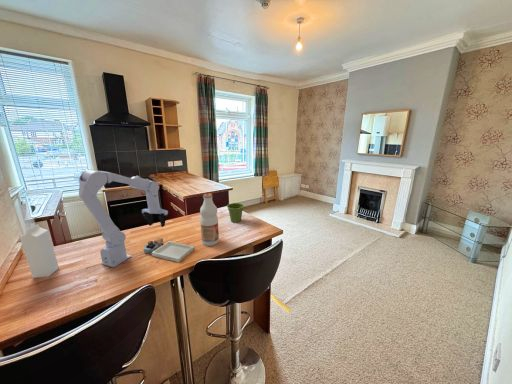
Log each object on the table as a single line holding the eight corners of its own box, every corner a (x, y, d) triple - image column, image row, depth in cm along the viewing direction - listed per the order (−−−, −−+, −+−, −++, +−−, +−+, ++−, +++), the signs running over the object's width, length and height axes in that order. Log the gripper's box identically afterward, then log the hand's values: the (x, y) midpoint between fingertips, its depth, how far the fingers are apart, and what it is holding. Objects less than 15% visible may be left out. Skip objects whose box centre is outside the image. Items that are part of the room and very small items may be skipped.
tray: (178, 262, 99) (178, 258, 99) (152, 255, 104) (151, 252, 104) (194, 249, 110) (193, 246, 110) (169, 244, 115) (168, 241, 115)
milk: (59, 268, 94) (47, 223, 88) (48, 276, 89) (34, 229, 83) (44, 269, 93) (30, 224, 88) (32, 278, 88) (16, 230, 82)
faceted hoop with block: (151, 254, 105) (150, 248, 104) (141, 252, 107) (140, 246, 106) (166, 244, 115) (166, 239, 114) (156, 242, 117) (156, 236, 116)
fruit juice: (199, 240, 119) (196, 193, 112) (215, 236, 124) (212, 191, 117) (205, 248, 112) (202, 198, 104) (221, 243, 117) (219, 195, 109)
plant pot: (237, 216, 155) (237, 201, 152) (247, 221, 146) (247, 206, 143) (224, 220, 148) (223, 205, 144) (233, 225, 139) (233, 209, 136)
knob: (151, 252, 108) (150, 244, 106) (147, 250, 108) (145, 243, 107) (156, 249, 110) (155, 241, 109) (151, 248, 111) (150, 240, 110)
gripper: (169, 200, 114) (172, 223, 118) (146, 199, 117) (150, 221, 121) (161, 205, 107) (165, 229, 111) (137, 203, 110) (141, 226, 114)
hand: (157, 225), depth 116 cm, fingers open, 7 cm apart
